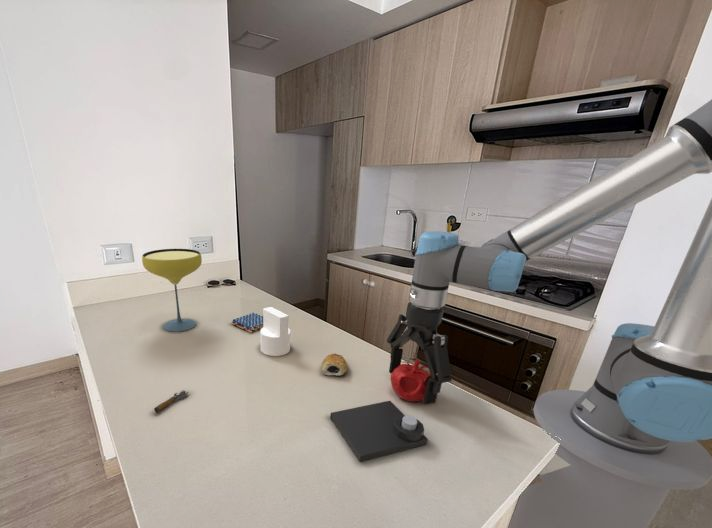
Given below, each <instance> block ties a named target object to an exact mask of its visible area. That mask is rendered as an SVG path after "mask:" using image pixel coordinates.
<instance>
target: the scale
mask: <svg viewBox="0 0 712 528" xmlns="http://www.w3.org/2000/svg"><path fill="white" fill-rule="evenodd" d="M404 416H406V415H405V414H404V413H403V412H402V411H401V410H400V409H399V408H398V407H397V406H396V405H395V404H394V403H393V402H392V401H391V400H387V401H386V400H385V401H382V402H377V403H376V402H375V403H372V404H367V405H362V406H357V407H354V408H353V407H351V408H348V409H342V410H338V411H332V412H330V416H329V418H330V420H331V422H332V424H334V426H335V427H336V429H337V430H338V432H339V434H340V435H341V436H342V438H343V440H344V441H345V442H346V444H347V446H348V447H349V449H350V450H351V452H352V453H353V454H354V456H355V457H356V459H357V460H358V462H359V463H361V462H364V461H365V462H366V461H369V460H371V459H377V458H380V457H383V456H387V455H391V454H396V453H398V452H403V451H406V450H411V449H414V448H418V447H422V446H425V445H427V444H428V440H429V439H428V437H427V436H426V435H425V434H424V433H425V426H424V424H423V423H422V422H421V421H420V420H419V419H417V418H415V419H416V420H417V426H416V429H415V430H414V431H409V430H406V429H404V428H403V427H402V425H401V424H402V419H403V417H404Z"/></svg>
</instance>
